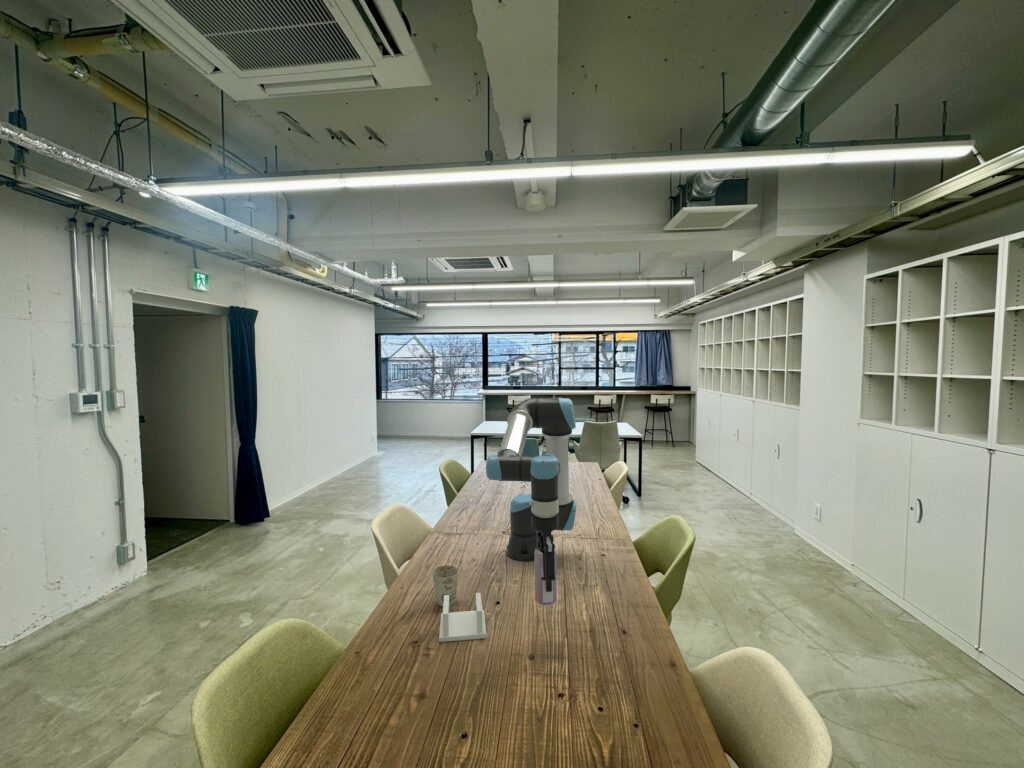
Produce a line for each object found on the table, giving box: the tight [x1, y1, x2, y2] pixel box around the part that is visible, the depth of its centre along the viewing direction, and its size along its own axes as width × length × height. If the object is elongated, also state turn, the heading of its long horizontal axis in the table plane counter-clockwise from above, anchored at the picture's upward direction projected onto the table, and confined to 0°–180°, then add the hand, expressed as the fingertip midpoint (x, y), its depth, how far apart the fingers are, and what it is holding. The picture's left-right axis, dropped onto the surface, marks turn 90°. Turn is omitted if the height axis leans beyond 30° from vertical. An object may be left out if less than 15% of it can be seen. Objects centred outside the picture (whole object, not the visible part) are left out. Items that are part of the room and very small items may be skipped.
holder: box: [438, 592, 487, 643], centre depth 123 cm, size 12×13×7 cm
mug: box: [432, 565, 459, 607], centre depth 139 cm, size 8×13×10 cm, turn 15°
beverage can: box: [534, 546, 557, 607], centre depth 118 cm, size 6×6×15 cm
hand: (545, 594), depth 118 cm, fingers closed on beverage can, 6 cm apart
